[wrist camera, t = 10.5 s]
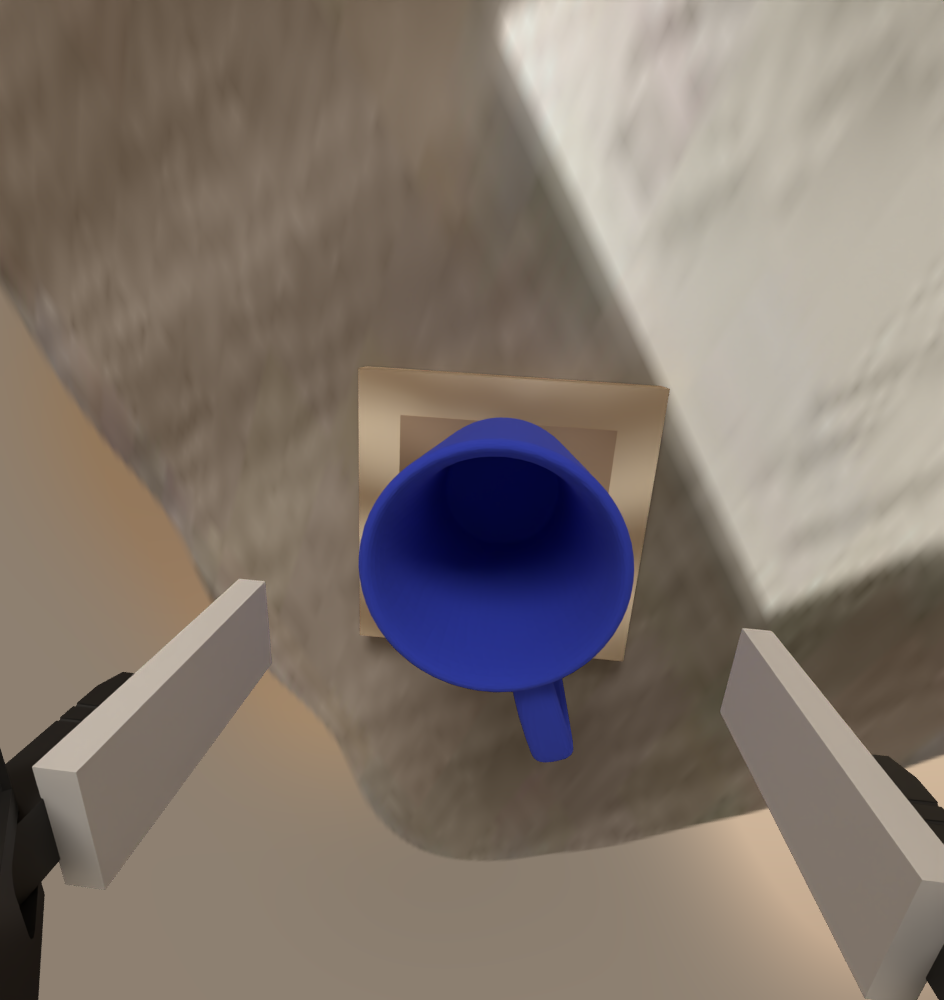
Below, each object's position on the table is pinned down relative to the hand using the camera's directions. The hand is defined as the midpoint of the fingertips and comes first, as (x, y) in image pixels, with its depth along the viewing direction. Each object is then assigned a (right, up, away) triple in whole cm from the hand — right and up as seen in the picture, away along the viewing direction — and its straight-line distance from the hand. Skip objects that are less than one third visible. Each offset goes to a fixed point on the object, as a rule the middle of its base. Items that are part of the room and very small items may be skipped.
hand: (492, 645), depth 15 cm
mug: (+1, +3, +11) cm, 12 cm away
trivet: (+1, +3, +12) cm, 13 cm away
